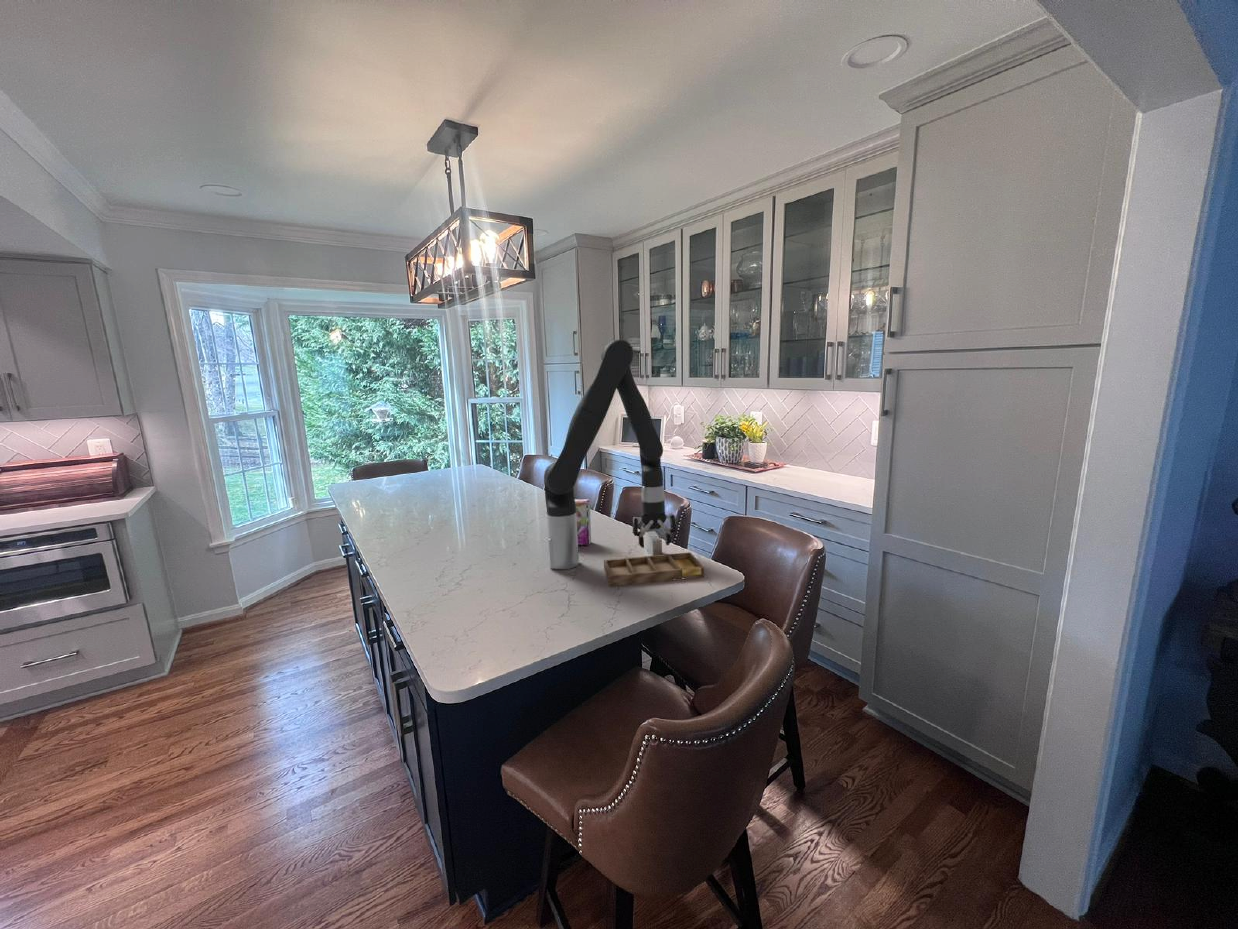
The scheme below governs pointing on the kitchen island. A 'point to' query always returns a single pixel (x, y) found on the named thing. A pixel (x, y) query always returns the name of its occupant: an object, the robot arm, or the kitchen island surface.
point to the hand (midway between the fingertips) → (654, 545)
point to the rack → (652, 569)
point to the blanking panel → (653, 543)
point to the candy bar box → (583, 521)
